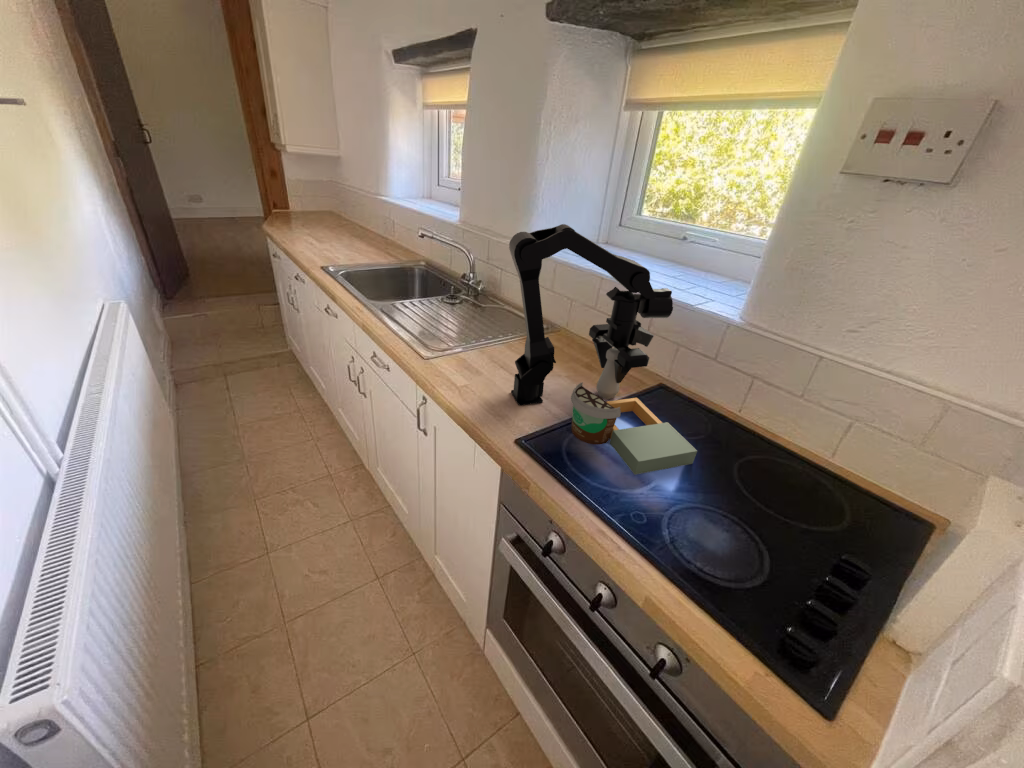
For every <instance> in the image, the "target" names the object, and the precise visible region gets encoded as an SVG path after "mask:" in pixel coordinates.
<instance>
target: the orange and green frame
mask: <svg viewBox="0 0 1024 768" xmlns="http://www.w3.org/2000/svg"><path fill="white" fill-rule="evenodd" d="M606 402H607V403H608V404H609V405H611V406H612V407H614V408H618V407H620V410H621V413H627V412H633V413H634V414H635V415H636V416H637V417H638V418H639V419H640V420H641V422H643V423H644V425H641V426H635V427H634V426H633V427H628V428H622V429H619V427H618V426H617V425H616V423H615V424H614V427H613V430H612V432H611V435H610V438H609V440H610V441H609V445H610V446H611V447H612V448H613V449H614V450H615V451H616V453H617V454H618V455H619V457H620V458H621V459H622V461H623V462H624V463H625V465H626V466H627V467H628V469H629V470H630V471H631V472H632V473H633V475H634V476H636V475H641V474H645V473H652V472H657V471H662V470H666V469H672V468H678V467H684V466H687V465H693V464H694V462H695V458H696V456H697V453H698V450H697V449H696V448H695V447H694V446H693V445H692V444H691V443H690V442H689V441H688V440H687V439H686V438H685V437H684V436H682V434H681V433H679V432H678V431H677V430H676V428H674V427H673V426H672V425H671V424H670V423H669V422H666V421H665V422H663V421H661V420H660V419H659V418H658V417H657V416H656V415H655V414H654V412H652V411H651V410H650V409H649V408H648V407H647V406H646V405H645V404H644V403H643V402H642V401H641V400H640V399H639V398H638V397H632V398H624V399H623V398H622V399H615V400H614V399H613V400H607V401H606Z"/></svg>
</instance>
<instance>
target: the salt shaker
mask: <svg viewBox="0 0 1024 768" xmlns="http://www.w3.org/2000/svg"><path fill="white" fill-rule="evenodd" d="M619 352H620V351H619V350H617V349H616V348H613V347H612V348H610V349H609V350H607V352H606V358H607V362H606V365H605V367H604V368H602V372H601V374H600V376H599V378H598V381H597V383H596V392H597V395H598V396H600V397H601V398H602V399H604V400H611V399H614V398H616V395H617V394H618V393H620V392H619V391H620V383H616V379H615V365H614V360H618V358H617V356H618V353H619Z"/></svg>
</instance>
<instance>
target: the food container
mask: <svg viewBox="0 0 1024 768" xmlns="http://www.w3.org/2000/svg"><path fill="white" fill-rule="evenodd" d="M583 383H584V382H583V381H582V382H580V383H578V384H577V385H576V386H575V387H574V389H573V391H572V393H571V395H570V402H571V404H572V416H571V429H570V430H571V434H572V435H573V436H574V437H575V439H577V440H579V441H580V442H583V443H585V444H589V445H595V446H596V445H598V446H599V445H604V444H608V443H609V440H610V435H611V432H612V430H613V427H614V424H615V425H616V422H617V418H621V413H622V412H621V410H620V407H618V408H614V407H612V406H611V405H609V404H608V403H607V401H606V399H604V398H601V397H600V396H599V395H598V394H597V393H594V392H592V391H590V390H588V389H587V388H586V387H584V386H583Z"/></svg>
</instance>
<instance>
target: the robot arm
mask: <svg viewBox="0 0 1024 768" xmlns="http://www.w3.org/2000/svg"><path fill="white" fill-rule="evenodd" d="M508 243H509V244H508V245H509V247H508V249H509V252H510V255H511V258H512V261H513V264H514V267H515V270H516V272H517V273H516V274H517V276H518V278H519V286H520V293H521V301H522V307H523V308H522V309H523V315H524V324H525V330H526V339H525V343H524V352H523V354H522V355H521V356H519V357H518V358H517V359H516V360H514V363H515V367H516V370H517V373H515V374H514V380H513V389H511V391H510V393H511V395H512V397H513V399H514V400H515V402H516V404H517V406H526V405H533V404H542V403H543V402H544V401H543V398H542V397H543V395H544V394H543V393H544V386H545V383H544V381H545V380H546V377H547V376H548V375H549V374H550V373H551V372H552V371H553V369H554V364H556V363H557V361H556V359H555V346H554V344H553V343H552V340H551V339H550V337H549V336H546V335H545V327H544V326H545V325H544V318H543V317H544V316H543V308H542V299H541V289H540V275H541V272H542V265H543V260H544V259H548V258H550V257H552V256H554V255H556V254H558V253H559V252H561V251H562V250H566V249H567V250H568V251H570V252H573V253H574V254H576V255H578V256H579V257H581V258H582V259H585V260H586V261H588V262H590V264H593V265H595V266H597V267H598V268H600V269H602V270H603V271H605V272H607V274H609V275H610V276H611V277H612V278H613V279H614V280H616V282H618V284H620V285H621V286H622V287H623V288H625V290H621V289H619V288H618V287H617V286H614V287H613V288H612V289H611V290H609V291H607V292H606V294H605V296H607V297H608V298H609V300H611V301H613V303H612V309H611V315H610V317H606V320H605V323H603V324H601V323H600V324H593V325H592V326H591V327H590V328H589V332H588V336H589V337H590V338H591V339H592V340H591V341H592V343H593V344H594V345H593V346H594V348H595V351H596V354H597V358H598V362H599V365H600V368H601V369H604V367H605V365H606V362H607V358H606V352H607V350H609V349H610V348H616V349H617V350H619V351H620V352H619V353H618V356H617V358H618V360H614V365H615V379H616V383H619V384H620V383H622V381H623V380H624V378H625V377H626V376H627V374H628V373H629V372H630V370H632V369H633V368H634V369H635V368H642V367H643V368H644V367H648V364H649V361H650V357H649V355H648V353H646V352H644V351H643V350H642V349H641V348H639V347H637V348H636V347H635V348H630V347H629V346H636V345H637V344H640V345H643V346H644V347H646V348H648V347H649V345H650V344H651V342H652V340H653V338H654V337H655V335H654V334H653V333H651V332H650V331H649V330H647V329H645V328H644V327H642V323H641V321H639V320H638V319H637V316H638V314H639V315H640V317H641V318H643V319H668V318H669V317H670V316H671V315H672V312H673V310H674V306H673V305H674V302H673V298H672V293H673V291H672V290H671V289H669V288H667V287H666V288H665V287H664V288H653V286H652V285H651V282H650V280H651V272H650V271H649V269H648V268H646V267H645V266H643V265H642V264H640V263H639V262H637V261H635V260H633V259H631V258H628V257H625V256H621V255H617V254H615V253H612V252H610V251H608V250H607V249H606V248H604V247H602V246H600V245H598V244H597V243H595V242H593V241H592V240H590V239H589V238H587V237H585V236H584V235H582V234H580V233H579V232H577V231H576V230H575V229H574V228H573V227H571V226H570V225H568V224H565V223H563V224H559V225H556V226H553V227H549V228H545V229H539V230H534V231H532V232H527V231H520V232H516V234H514V235H513V236H512V237H511V239H510V240H509V242H508Z"/></svg>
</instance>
